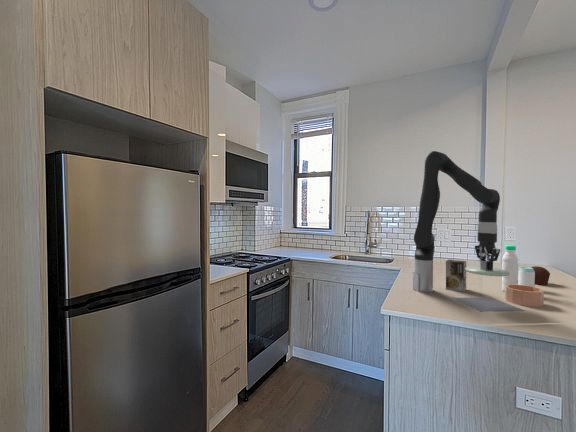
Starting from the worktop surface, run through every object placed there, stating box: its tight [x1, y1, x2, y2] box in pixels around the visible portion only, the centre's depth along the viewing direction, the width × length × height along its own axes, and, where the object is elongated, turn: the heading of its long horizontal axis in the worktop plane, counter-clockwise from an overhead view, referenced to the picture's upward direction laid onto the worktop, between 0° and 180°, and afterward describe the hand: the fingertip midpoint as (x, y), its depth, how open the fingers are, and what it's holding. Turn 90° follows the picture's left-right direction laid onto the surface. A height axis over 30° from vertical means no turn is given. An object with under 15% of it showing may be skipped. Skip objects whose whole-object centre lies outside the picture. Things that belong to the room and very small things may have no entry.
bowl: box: [504, 284, 545, 308], centre depth 141 cm, size 14×14×7 cm
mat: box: [453, 296, 526, 312], centre depth 138 cm, size 20×20×1 cm
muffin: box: [530, 266, 551, 286], centre depth 178 cm, size 12×11×10 cm
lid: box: [465, 260, 509, 277], centre depth 138 cm, size 17×17×5 cm
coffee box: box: [445, 259, 467, 292], centre depth 164 cm, size 9×6×16 cm
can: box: [518, 266, 536, 287], centre depth 165 cm, size 7×7×12 cm
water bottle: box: [501, 244, 519, 292], centre depth 160 cm, size 7×7×25 cm
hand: (486, 268), depth 138 cm, fingers closed on lid, 3 cm apart
